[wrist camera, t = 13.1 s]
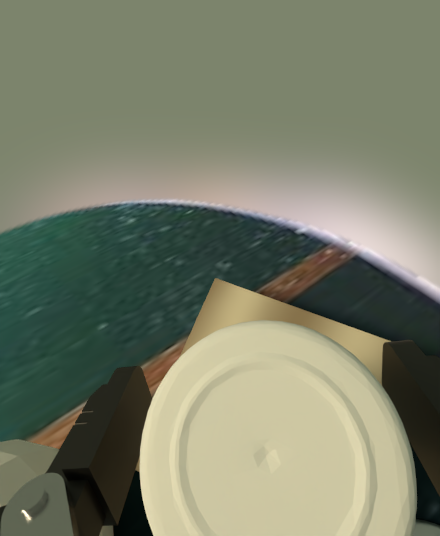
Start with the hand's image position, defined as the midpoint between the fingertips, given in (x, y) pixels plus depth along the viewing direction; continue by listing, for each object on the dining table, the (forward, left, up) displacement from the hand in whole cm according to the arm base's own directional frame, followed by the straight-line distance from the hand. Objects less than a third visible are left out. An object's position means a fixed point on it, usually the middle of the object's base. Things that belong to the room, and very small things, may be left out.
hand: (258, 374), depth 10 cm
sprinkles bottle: (+1, -1, -8) cm, 8 cm away
